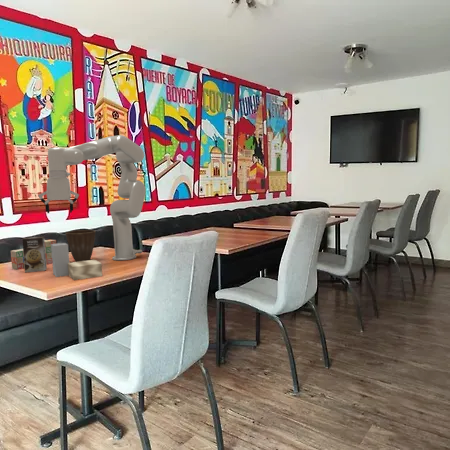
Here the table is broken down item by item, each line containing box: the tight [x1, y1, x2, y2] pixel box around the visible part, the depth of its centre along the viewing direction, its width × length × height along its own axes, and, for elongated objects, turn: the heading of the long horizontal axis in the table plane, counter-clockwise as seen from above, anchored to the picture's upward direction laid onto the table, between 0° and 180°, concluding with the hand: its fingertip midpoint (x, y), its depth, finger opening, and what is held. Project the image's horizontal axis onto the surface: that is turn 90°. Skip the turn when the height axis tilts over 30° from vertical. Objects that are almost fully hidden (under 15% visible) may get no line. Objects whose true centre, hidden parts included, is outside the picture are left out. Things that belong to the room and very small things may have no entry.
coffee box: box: [22, 236, 48, 273], centre depth 201 cm, size 9×6×16 cm
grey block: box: [51, 242, 70, 278], centre depth 188 cm, size 6×7×14 cm
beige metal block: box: [68, 259, 103, 281], centre depth 185 cm, size 12×12×6 cm
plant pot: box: [65, 229, 96, 262], centre depth 220 cm, size 15×15×16 cm
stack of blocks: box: [10, 239, 57, 271], centre depth 215 cm, size 21×6×12 cm, turn 140°
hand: (59, 212), depth 191 cm, fingers open, 9 cm apart
